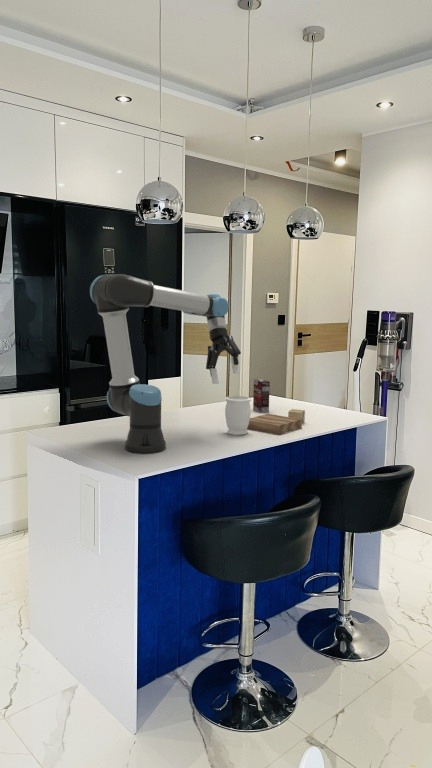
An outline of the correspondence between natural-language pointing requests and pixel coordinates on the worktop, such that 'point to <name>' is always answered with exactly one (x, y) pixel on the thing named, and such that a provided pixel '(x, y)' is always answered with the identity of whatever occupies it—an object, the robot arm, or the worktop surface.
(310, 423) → the worktop surface
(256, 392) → the supplement box
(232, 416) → the jar
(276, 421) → the walnut slab
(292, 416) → the oak cube
